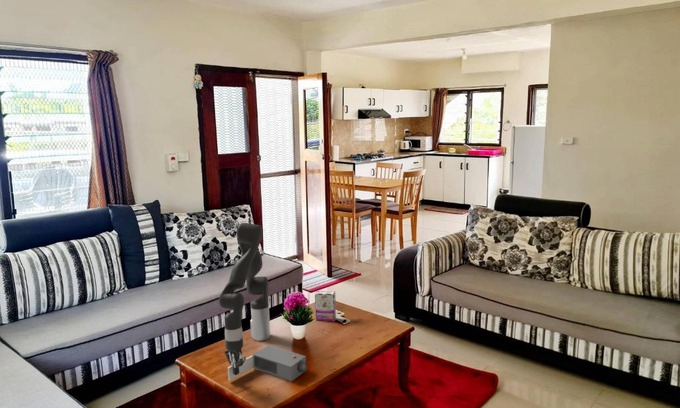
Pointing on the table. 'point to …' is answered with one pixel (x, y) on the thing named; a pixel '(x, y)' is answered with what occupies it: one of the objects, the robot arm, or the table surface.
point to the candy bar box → (325, 305)
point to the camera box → (280, 362)
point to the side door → (242, 368)
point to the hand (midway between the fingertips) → (236, 374)
